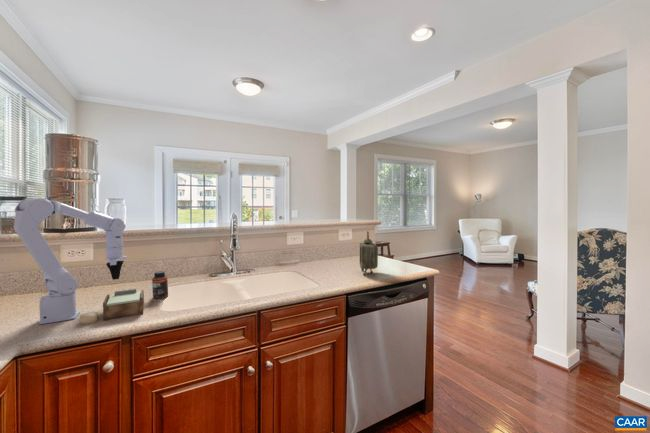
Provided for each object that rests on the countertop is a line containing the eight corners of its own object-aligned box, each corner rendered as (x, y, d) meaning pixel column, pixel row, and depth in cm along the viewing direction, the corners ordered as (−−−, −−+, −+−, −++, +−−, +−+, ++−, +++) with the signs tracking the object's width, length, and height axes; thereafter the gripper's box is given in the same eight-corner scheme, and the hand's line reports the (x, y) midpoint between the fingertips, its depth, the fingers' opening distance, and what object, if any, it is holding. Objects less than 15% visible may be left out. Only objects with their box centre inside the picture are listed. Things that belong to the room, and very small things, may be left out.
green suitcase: (359, 270, 177) (359, 229, 176) (374, 270, 177) (374, 230, 176) (361, 276, 163) (361, 232, 162) (377, 276, 163) (378, 232, 161)
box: (103, 320, 103) (102, 303, 103) (107, 310, 113) (107, 294, 112) (143, 313, 109) (142, 297, 109) (144, 304, 119) (143, 289, 118)
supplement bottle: (164, 294, 133) (164, 269, 132) (170, 296, 129) (169, 271, 128) (150, 297, 128) (149, 272, 127) (155, 300, 124) (155, 274, 124)
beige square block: (78, 325, 99) (77, 318, 99) (81, 320, 103) (81, 313, 103) (96, 322, 101) (96, 315, 101) (99, 317, 106) (99, 310, 106)
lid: (106, 305, 104) (106, 300, 103) (110, 297, 113) (110, 291, 113) (139, 301, 109) (139, 295, 108) (140, 293, 118) (140, 287, 118)
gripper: (124, 248, 116) (126, 281, 117) (127, 243, 129) (128, 273, 130) (102, 250, 113) (104, 284, 114) (107, 245, 125) (109, 276, 126)
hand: (115, 278), depth 121 cm, fingers closed
